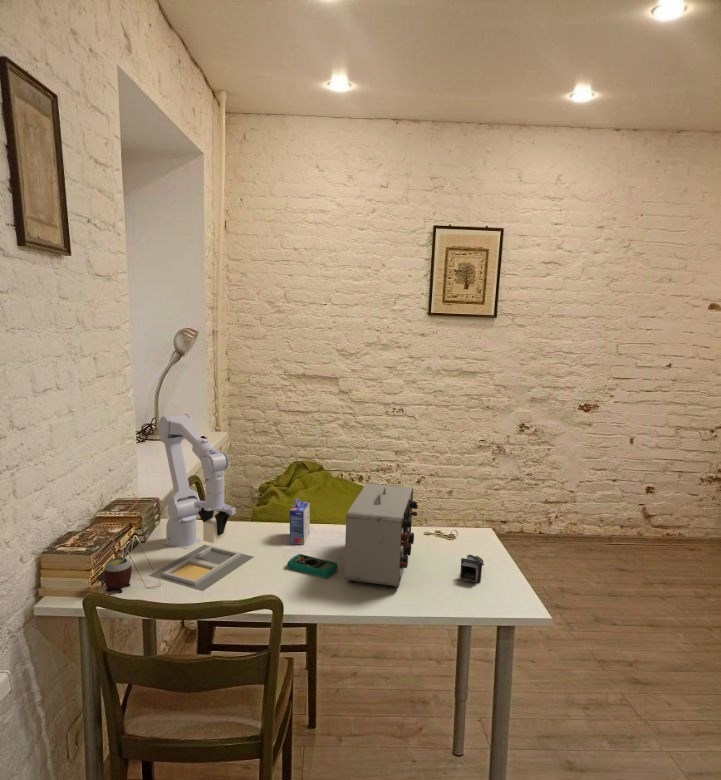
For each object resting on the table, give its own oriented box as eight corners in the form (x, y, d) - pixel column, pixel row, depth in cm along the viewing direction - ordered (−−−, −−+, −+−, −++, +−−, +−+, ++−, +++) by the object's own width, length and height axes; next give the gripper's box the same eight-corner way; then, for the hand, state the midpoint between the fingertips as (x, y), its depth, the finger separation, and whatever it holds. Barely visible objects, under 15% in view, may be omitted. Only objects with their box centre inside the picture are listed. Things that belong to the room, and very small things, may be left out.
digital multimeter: (297, 560, 173) (297, 551, 172) (338, 570, 167) (338, 561, 166) (285, 569, 166) (285, 560, 166) (327, 580, 160) (327, 571, 160)
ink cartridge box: (295, 532, 194) (295, 494, 192) (309, 534, 193) (310, 495, 192) (288, 543, 184) (289, 503, 182) (304, 545, 184) (305, 504, 182)
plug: (203, 540, 166) (203, 522, 166) (216, 533, 172) (216, 515, 172) (213, 543, 165) (213, 524, 164) (226, 535, 171) (227, 517, 170)
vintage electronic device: (405, 593, 153) (409, 509, 150) (343, 585, 156) (346, 503, 153) (416, 549, 184) (419, 478, 181) (364, 543, 187) (367, 474, 184)
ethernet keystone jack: (486, 568, 171) (487, 549, 170) (479, 586, 159) (480, 566, 158) (466, 564, 173) (467, 545, 173) (457, 582, 161) (459, 561, 160)
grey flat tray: (148, 577, 157) (148, 572, 157) (204, 546, 180) (204, 541, 180) (202, 592, 149) (202, 587, 149) (254, 558, 172) (254, 553, 172)
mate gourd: (101, 586, 150) (100, 535, 149) (131, 579, 155) (130, 530, 153) (108, 597, 145) (106, 545, 143) (138, 589, 149) (137, 538, 148)
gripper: (187, 491, 166) (187, 532, 167) (225, 498, 160) (225, 541, 162) (202, 485, 172) (202, 525, 174) (239, 492, 166) (239, 533, 168)
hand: (214, 532), depth 168 cm, fingers closed on plug, 4 cm apart
